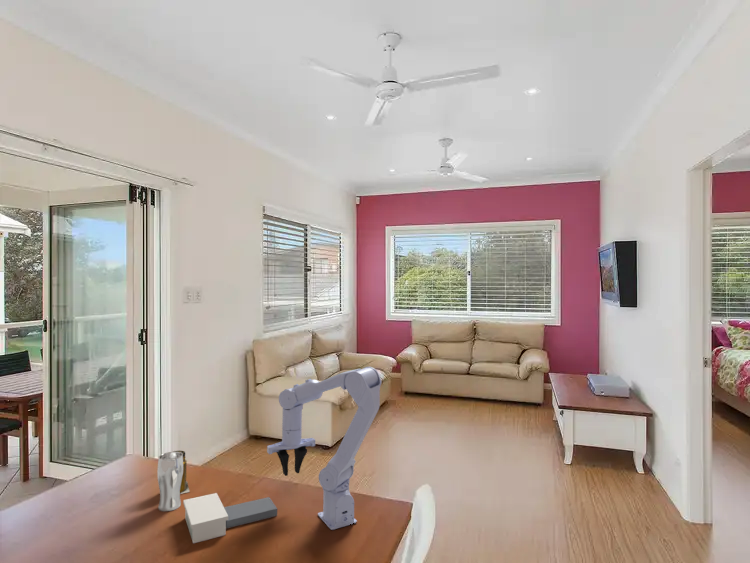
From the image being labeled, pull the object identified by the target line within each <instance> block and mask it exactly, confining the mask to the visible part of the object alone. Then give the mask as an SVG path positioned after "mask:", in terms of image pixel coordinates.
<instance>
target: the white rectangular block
mask: <svg viewBox="0 0 750 563" xmlns="http://www.w3.org/2000/svg"><path fill="white" fill-rule="evenodd" d="M182 504H183V507H184V510H185V515H184V516H185V518H184V519H185V521H186V526H187V528H188V532H189V535H190V538H191V540H192V541H191V542H192V544H196V543H197V544H198V543H200V542H204V541H208V540H211V539H215V538H219V537H224V536H226V532H227V531H226V530H227V528H226V520H228V514H227V512H226V510H225V508H224V507H225V506H224V504H223V503H222V501H221V498H220V496H219V495H218V492H214V493H210V494H205V495H200V496H197V497H193V498H192V497H191V498H187V499H183V502H182Z"/></svg>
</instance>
